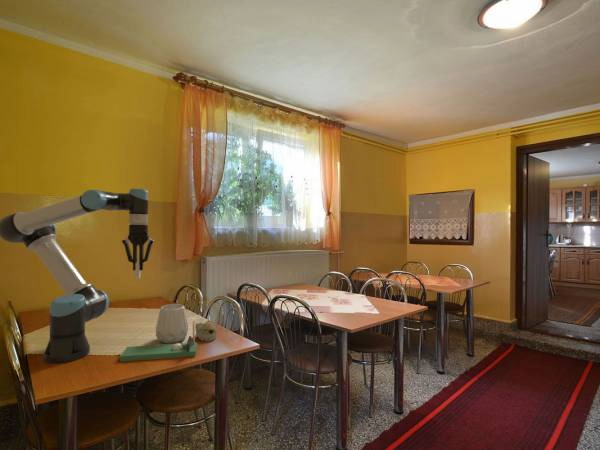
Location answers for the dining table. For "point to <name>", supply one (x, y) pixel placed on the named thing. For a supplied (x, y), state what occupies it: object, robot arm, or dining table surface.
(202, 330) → the seashell
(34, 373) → the dining table surface
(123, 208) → the robot arm
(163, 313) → the vase
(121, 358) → the green
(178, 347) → the ball
